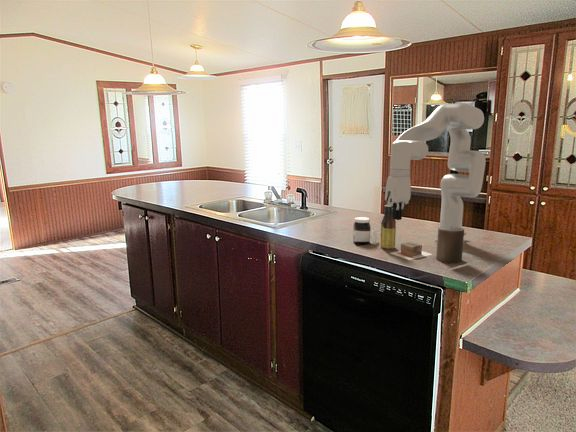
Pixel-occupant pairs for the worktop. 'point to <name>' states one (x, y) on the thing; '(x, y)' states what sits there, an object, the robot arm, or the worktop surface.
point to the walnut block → (411, 249)
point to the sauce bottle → (388, 229)
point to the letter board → (410, 256)
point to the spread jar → (363, 232)
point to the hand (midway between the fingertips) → (397, 219)
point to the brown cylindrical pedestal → (450, 244)
